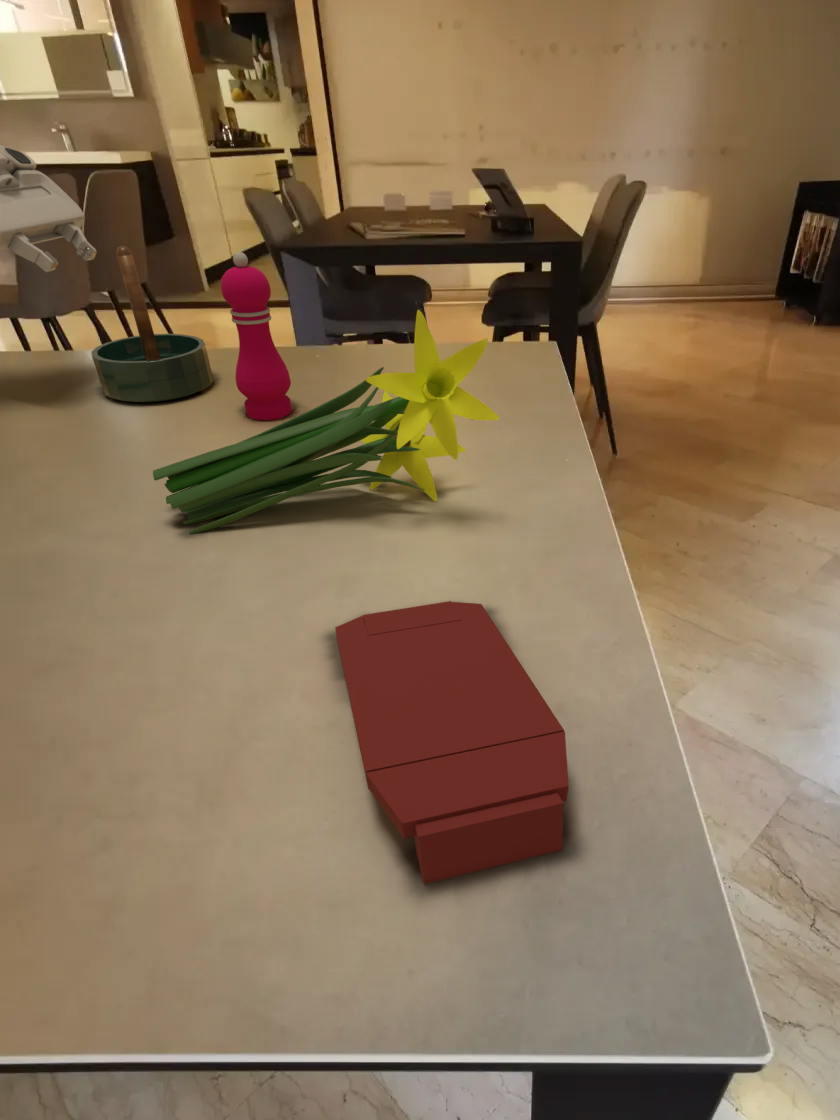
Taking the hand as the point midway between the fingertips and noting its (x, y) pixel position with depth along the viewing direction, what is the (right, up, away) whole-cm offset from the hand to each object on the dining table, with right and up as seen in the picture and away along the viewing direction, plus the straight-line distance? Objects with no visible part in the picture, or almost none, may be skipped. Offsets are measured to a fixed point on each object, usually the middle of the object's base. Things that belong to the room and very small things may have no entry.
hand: (73, 262), depth 97 cm
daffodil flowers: (+41, -39, -22) cm, 61 cm away
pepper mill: (+27, -21, +2) cm, 34 cm away
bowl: (+7, -14, +10) cm, 19 cm away
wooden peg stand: (+7, -13, +10) cm, 18 cm away
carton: (+54, -59, -48) cm, 93 cm away
